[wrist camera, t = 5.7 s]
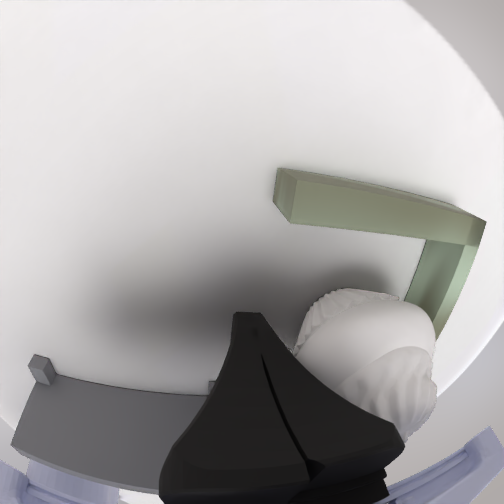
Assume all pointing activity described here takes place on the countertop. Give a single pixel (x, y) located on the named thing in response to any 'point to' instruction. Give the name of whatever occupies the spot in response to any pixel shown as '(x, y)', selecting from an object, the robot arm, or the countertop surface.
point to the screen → (101, 429)
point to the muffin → (372, 354)
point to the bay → (391, 229)
